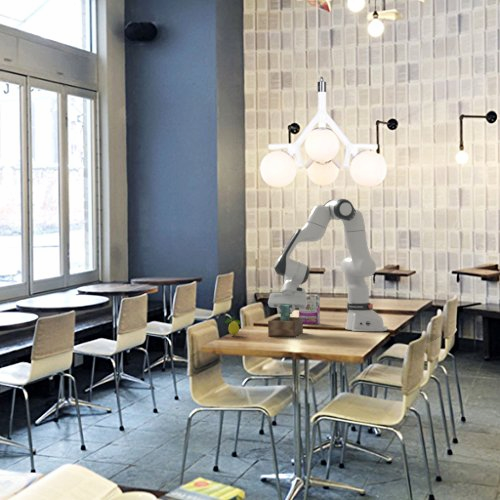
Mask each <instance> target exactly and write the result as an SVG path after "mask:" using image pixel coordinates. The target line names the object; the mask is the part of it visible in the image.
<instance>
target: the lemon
mask: <svg viewBox="0 0 500 500" xmlns="http://www.w3.org/2000/svg"><path fill="white" fill-rule="evenodd" d="M232 320H233V321H232ZM224 323H225V324H228V323H229V325H228V332H229V334H231V335H232V336H233V337H235V336H236V335H237V334H238V333H240V326H242V325H243V324H242V322H241V321H240V320H239V319H234V317H229V318H227V319H226V320H225V322H224ZM239 325H240V326H239Z"/></svg>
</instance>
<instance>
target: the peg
mask: <svg viewBox="0 0 500 500" xmlns="http://www.w3.org/2000/svg"><path fill="white" fill-rule="evenodd" d="M289 310H291V308H290V305H281V314H280V317H281V321H290V317H291V314H289Z"/></svg>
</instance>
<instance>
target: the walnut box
mask: <svg viewBox="0 0 500 500" xmlns="http://www.w3.org/2000/svg"><path fill="white" fill-rule="evenodd" d="M267 323H268V324H267V331H268V332H267V336H268V337H273V338H294V337H295V338H297V337H298V336H299V334H300V335H301V333H302V334H303V332H304V324H303V317H299V316H298V317H297V316H296V317H295V316H290V321H281V316H275V317H273V318H271V319H269V320H268V321H267ZM296 336H297V337H296Z"/></svg>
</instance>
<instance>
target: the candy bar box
mask: <svg viewBox="0 0 500 500" xmlns="http://www.w3.org/2000/svg"><path fill="white" fill-rule="evenodd" d="M306 299H307V306H306V308H298V317H303V325H319V324H321V307H320V306H321V302H320V301H321V300H320V299H321V298H320V294H306Z"/></svg>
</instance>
